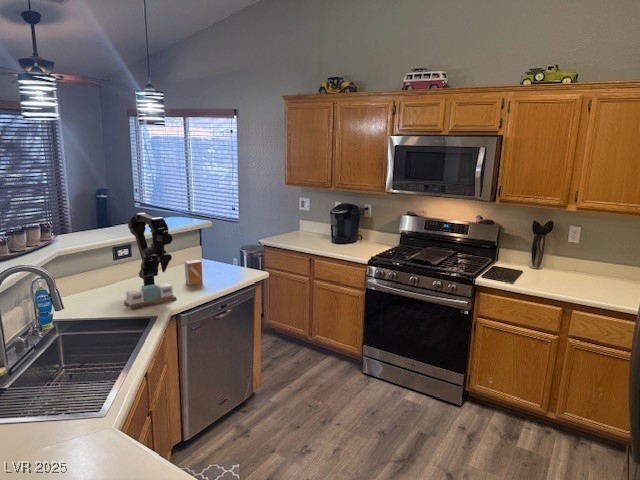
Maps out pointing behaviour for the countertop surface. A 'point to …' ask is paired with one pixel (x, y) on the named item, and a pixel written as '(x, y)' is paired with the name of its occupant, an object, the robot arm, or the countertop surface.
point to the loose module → (150, 292)
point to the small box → (193, 272)
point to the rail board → (150, 303)
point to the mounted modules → (137, 295)
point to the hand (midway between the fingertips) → (160, 270)
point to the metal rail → (148, 300)
